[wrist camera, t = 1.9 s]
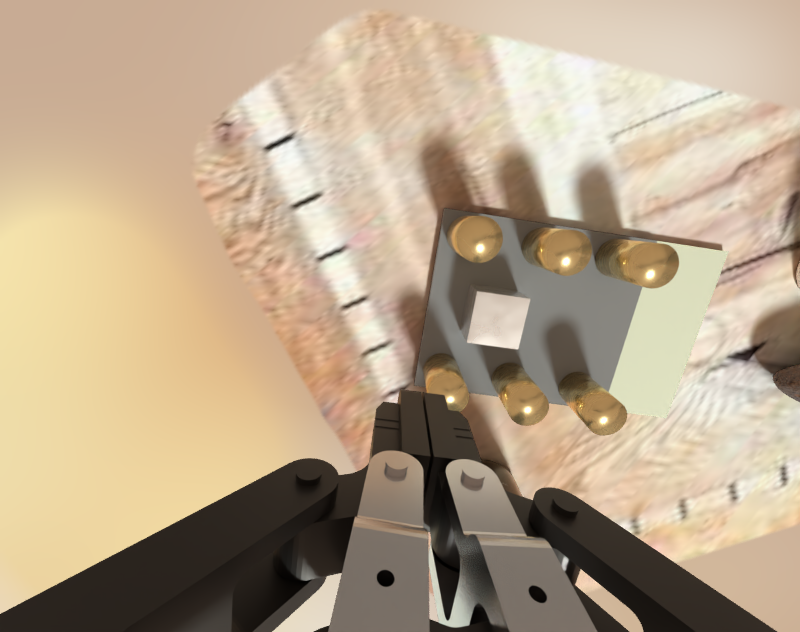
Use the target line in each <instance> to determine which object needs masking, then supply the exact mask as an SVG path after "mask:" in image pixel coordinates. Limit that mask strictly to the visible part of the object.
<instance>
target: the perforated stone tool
mask: <svg viewBox="0 0 800 632" xmlns="http://www.w3.org/2000/svg"><path fill="white" fill-rule="evenodd" d="M773 381H774V383H775V385H776V386H777V387H778V389H780V390H781V391H782V392H783V393H785V394H786V395H788V396H789V397H791V398H793V399H795V400H797V401H798V402H800V364H799V365H795V366H791V367H788V368H785V369H782V370H780V371H778V372H777V373H776V374H775V375H774V376H773Z"/></svg>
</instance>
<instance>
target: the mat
mask: <svg viewBox="0 0 800 632" xmlns="http://www.w3.org/2000/svg"><path fill="white" fill-rule="evenodd" d="M462 216H486V217H489V218H491V219H493V220H494V221H496V222H497V223H498V225H499V226H500V228H501V230H502V234H503V243H502V246H501V249H500V251H499V252H498V254H497V255H496V256H495V257H494V258H492V259H491V260H489V261H487V262H483V263H474V262H471V261H469V260H467V259H465V258H464V257H462V256H460V255H459V254H457V253H456V252H454V251H453V250H452V249H451V248H450V246H449V244H448V241H447V231H448V228H449V226H450V225H451V223H452V222H453V221H454V220H456V219H457V218H459V217H462ZM541 227H544V228H556V229H567V230H577V231H580V232H582V233H584V234H585V235H586V236H587V237H588V238H589V240H590V242H591V246H592V255H591V258H590V261H589V263H588V264H587V266H586V267H585V268H584V269H583V270H582V271H580V272H579V273H577V274H574V275H571V276H562V275H559V274H556V273H553V272H551V271H548V270H545V269H543V268H540V267H537V266H534V265H532V264H530V263H528V262H527V261H526V260H525V258H524V257H523V254H522V243H523V240H524V238H525V237H526V235H527V234H528V233H529V232H531V231H532V230H534V229H536V228H541ZM612 239H625V240H634V241H643V242H652V243H661V244H667V245H669V246H671V247H672V248H674V249H675V251H676V252H677V254H678V257H679V267H678V270H677V273H676V275H675V276H674V278H673V279H672V280H671V281H670V282H669V283H667V284H666V285H664V286H662V287H659V288H653V289H651V288H646V287H642V286H639V285H635V284H632V283H629V282H625V281H622V280H618V279H615V278H611V277H608V276H605V275H603V274H601V273H600V272H599V271H598V269H597V268H596V265H595V257H596V253H597V251H598V249H599V248H600V247H601V246H602V245H603V244H604V243H605V242H607V241H609V240H612ZM727 254H728V252H727V251H721V250H714V249H708V248H701V247H695V246H688V245H682V244H675V243H669V242H662V241H656V240H649V239H643V238H636V237H630V236H623V235H617V234H610V233H604V232H597V231H591V230H584V229H578V228H571V227H565V226H558V225H552V224H545V223H539V222H532V221H526V220H519V219H513V218H506V217H500V216H493V215H487V214H480V213H474V212H467V211H461V210H454V209H447V208H444V211H443V217H442V223H441V228H440V234H439V240H438V246H437V252H436V258H435V264H434V269H433V275H432V281H431V287H430V293H429V299H428V305H427V311H426V316H425V322H424V328H423V334H422V340H421V346H420V352H419V358H418V363H417V369H416V375H415V381H414V385H415V386H421V387H426V384H425V378H424V372H423V368H424V364H425V362H426V361H427V359H428V358H430V357H431V356H433V355H435V354H439V353H444V354H448V355H450V356H451V357H453V358H454V359H455V361H456V362H457V364H458V367H459V369H460V372H461V374H462V377H463V379H464V382H465V384H466V386H467V389H468V392H469V393H474V394H482V395H490V396H497V397H499V396H498V394H497V392H496V391H495V389H494V387H493V385H492V375H493V372H494V371H495V369H496V368H497V367H499V366H500V365H502V364H505V363H516V364H518V365H520V366H521V367H522V368H523V369H524V370H525V372H526V373H527V374H528V375H529V376H530V378H531V379H532V380H533V381H534V382H535V384H536V385H537V386H538V387H539V389H540V390H541V391H542V392H543V393H544V395H545V396H546V397H547V399H548V402H549V403H551V404H559V405H567V403H566V402H565V401H564V400H563V399H562V398H561V396H560V394H559V384H560V382H561V380H562V379H563V378H564V377H565V376H566V375H568V374H570V373H573V372H583V373H585V374H587V375H588V376H590V377H591V378H592V379H593V380H594V381H596V382H597V383H598V384H599V385H600V386H602V387H603V388H604V389H605V390H606V391H608V392H609V393H610V394H611V395H612V396H614V397H615V398H616V399H617V400H618V401H620V402H621V403H622V404H623V405H624V406H625V408H626V410H627V413H632V414H639V415H647V416H655V417H662V418H667V415H668V412H669V410H670V407H671V404H672V402H673V399H674V396H675V394H676V391H677V388H678V386H679V383H680V380H681V378H682V375H683V372H684V370H685V367H686V364H687V361H688V359H689V356H690V353H691V351H692V348H693V345H694V343H695V340H696V337H697V335H698V332H699V329H700V327H701V324H702V321H703V319H704V316H705V313H706V311H707V308H708V305H709V303H710V300H711V297H712V295H713V292H714V289H715V287H716V284H717V281H718V278H719V276H720V273H721V270H722V268H723V265H724V262H725V260H726V257H727ZM469 284H474V285H481V286H488V287H495V288H502V289H509V290H515V291H519V292H520V293H522V294H524V295H525V296H527V297H528V298H530V303H529V307H528V311H527V315H526V320H525V324H524V328H523V332H522V336H521V340H520V344H519V348H518V349H510V348H503V347H496V346H488V345H481V344H474V343H467V342H466V340H465V338H464V337H463V335H462V333H461V331H460V329H461V324H462V319H463V314H464V309H465V304H466V299H467V294H468V289H469ZM567 406H568V405H567Z"/></svg>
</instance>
